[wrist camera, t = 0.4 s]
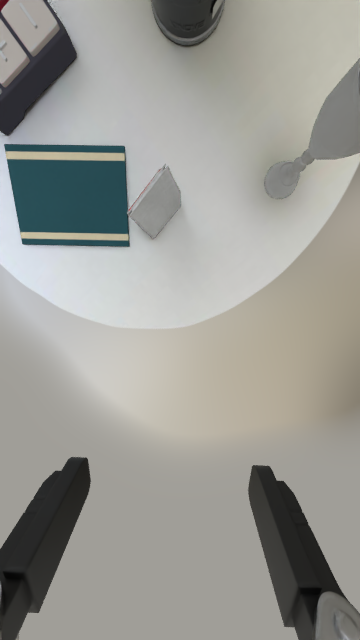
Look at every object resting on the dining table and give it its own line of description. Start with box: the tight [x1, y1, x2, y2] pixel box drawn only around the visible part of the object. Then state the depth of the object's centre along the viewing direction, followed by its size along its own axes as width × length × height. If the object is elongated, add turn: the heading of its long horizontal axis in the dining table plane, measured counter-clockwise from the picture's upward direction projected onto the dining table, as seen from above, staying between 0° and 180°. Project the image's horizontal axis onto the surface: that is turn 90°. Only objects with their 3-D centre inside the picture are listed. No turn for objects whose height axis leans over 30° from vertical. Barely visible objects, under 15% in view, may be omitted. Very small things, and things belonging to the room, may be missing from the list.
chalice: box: [264, 58, 360, 199], centre depth 21 cm, size 7×7×18 cm
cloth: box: [4, 144, 129, 247], centre depth 31 cm, size 14×18×1 cm
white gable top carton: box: [127, 164, 181, 239], centre depth 27 cm, size 4×7×10 cm, turn 137°
